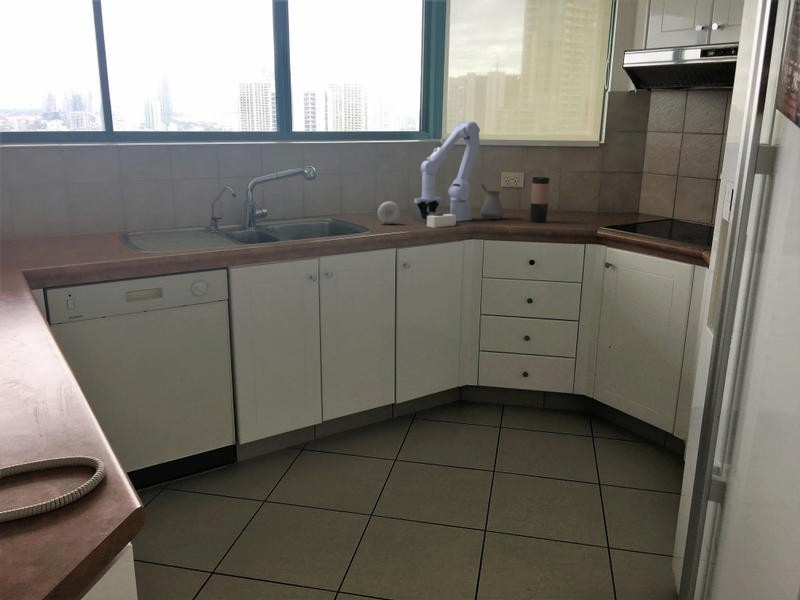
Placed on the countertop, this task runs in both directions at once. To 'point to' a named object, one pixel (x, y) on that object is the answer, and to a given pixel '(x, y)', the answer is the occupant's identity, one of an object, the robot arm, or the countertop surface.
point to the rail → (429, 213)
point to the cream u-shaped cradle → (441, 220)
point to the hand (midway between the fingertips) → (427, 218)
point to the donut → (395, 212)
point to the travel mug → (539, 199)
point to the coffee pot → (492, 205)
